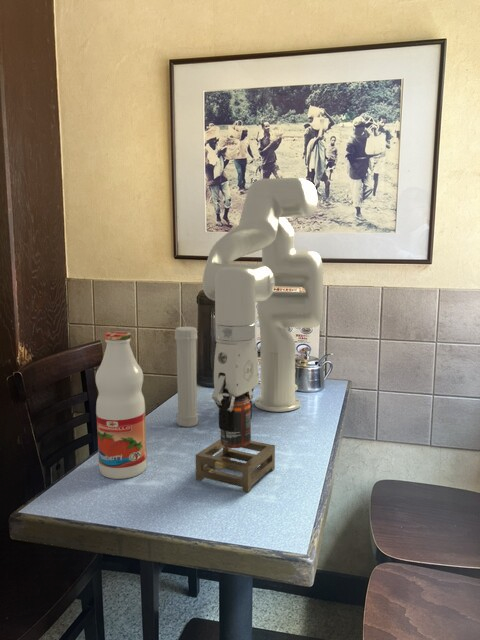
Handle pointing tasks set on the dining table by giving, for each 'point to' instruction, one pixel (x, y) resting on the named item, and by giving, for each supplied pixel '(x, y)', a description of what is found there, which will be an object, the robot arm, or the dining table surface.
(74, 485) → the dining table surface
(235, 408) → the supplement bottle
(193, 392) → the pipe
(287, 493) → the dining table surface
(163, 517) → the dining table surface
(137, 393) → the fruit juice
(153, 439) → the dining table surface
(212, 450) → the collar stand
